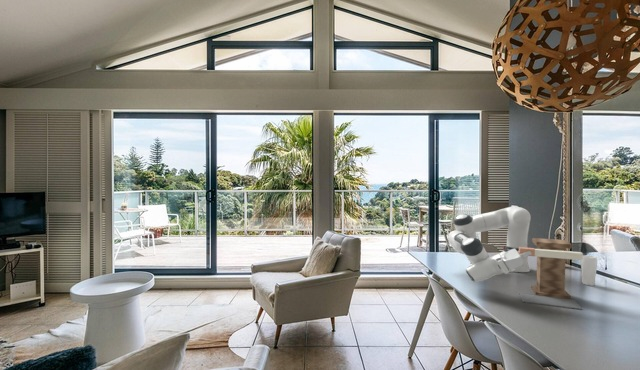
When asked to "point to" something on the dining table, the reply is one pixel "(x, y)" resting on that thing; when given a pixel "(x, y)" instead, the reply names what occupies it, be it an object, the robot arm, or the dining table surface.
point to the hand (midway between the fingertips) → (529, 251)
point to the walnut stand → (551, 270)
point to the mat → (550, 301)
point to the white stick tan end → (552, 253)
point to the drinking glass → (588, 270)
